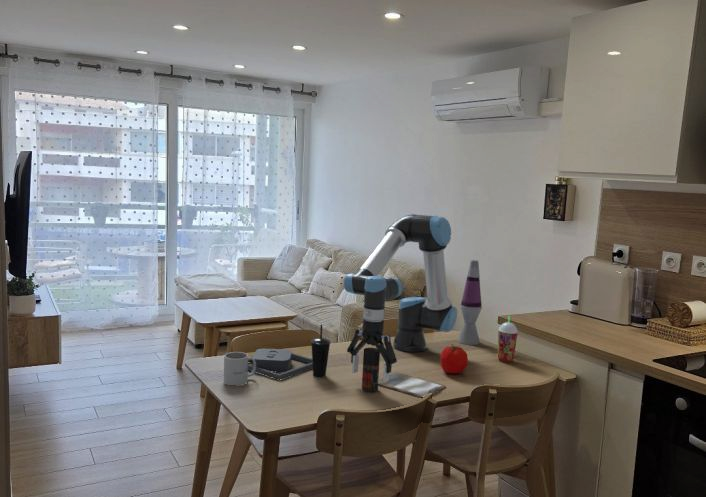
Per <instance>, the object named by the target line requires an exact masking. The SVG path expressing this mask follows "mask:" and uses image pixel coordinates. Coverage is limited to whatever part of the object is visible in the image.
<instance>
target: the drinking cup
mask: <svg viewBox="0 0 706 497" xmlns="http://www.w3.org/2000/svg"><path fill="white" fill-rule="evenodd" d="M319 334H320V335H319V337H316V338H312V339H311V340H310V343H311V357H312V358H311V359H312V363H313V368H312V375H313V377H314V378H324V377H326V376H327V368H328V367H327V366H328V360H329V354H330V345H331V342H332V341H331V340H330V339H328V338H326V337H323V324H320V331H319Z"/></svg>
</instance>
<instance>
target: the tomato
mask: <svg viewBox="0 0 706 497" xmlns="http://www.w3.org/2000/svg"><path fill="white" fill-rule="evenodd" d="M440 353H441V354H440V359H439V360H440V367H441V368H442V370H443V371H444V372H445V373H447V374H460V373H463V372H464V370H466V368H467V367H468V364H469V358H468V354H467V352H466V351H465V350H464V349H463V348H462V347H460V346H457V345H453V344H451V346H446V347H444V348H443V350H442V351H441V352H440Z"/></svg>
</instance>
